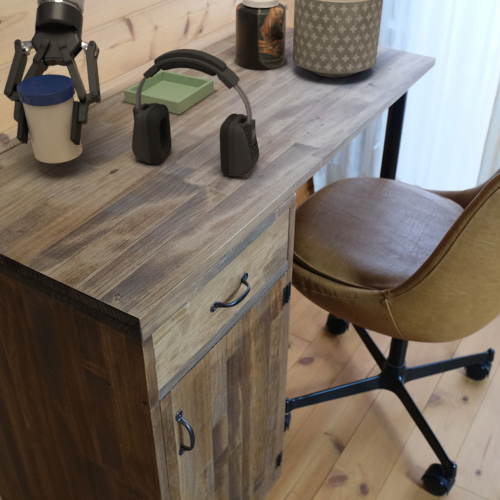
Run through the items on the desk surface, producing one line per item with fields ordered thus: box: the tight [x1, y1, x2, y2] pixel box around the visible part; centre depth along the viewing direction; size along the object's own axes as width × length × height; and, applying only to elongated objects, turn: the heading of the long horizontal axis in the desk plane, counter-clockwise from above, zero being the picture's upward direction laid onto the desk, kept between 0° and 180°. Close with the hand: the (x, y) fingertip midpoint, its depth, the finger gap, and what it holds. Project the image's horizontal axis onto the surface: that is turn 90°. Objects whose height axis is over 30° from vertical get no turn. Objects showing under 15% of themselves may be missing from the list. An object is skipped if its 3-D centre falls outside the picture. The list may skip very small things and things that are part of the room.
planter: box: [292, 0, 384, 79], centre depth 144 cm, size 19×19×18 cm
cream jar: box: [22, 95, 84, 164], centre depth 106 cm, size 8×8×12 cm
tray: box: [123, 69, 215, 115], centre depth 137 cm, size 14×14×2 cm
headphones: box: [131, 48, 260, 178], centre depth 108 cm, size 22×6×20 cm, turn 72°
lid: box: [17, 73, 76, 106], centre depth 103 cm, size 9×9×2 cm
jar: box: [235, 0, 287, 71], centre depth 151 cm, size 12×12×15 cm
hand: (48, 141), depth 105 cm, fingers closed on cream jar, 8 cm apart
